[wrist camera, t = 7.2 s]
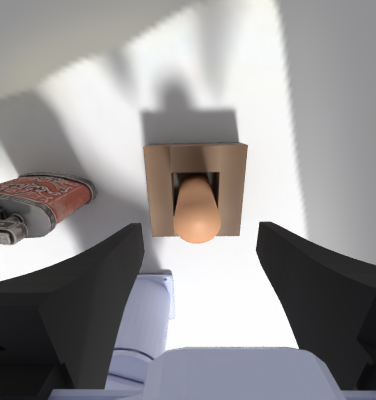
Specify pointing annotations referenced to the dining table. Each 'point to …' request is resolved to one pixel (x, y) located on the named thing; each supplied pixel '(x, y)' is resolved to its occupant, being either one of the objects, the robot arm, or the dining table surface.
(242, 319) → the dining table surface
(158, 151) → the hole block
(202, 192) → the pin
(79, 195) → the lighter
